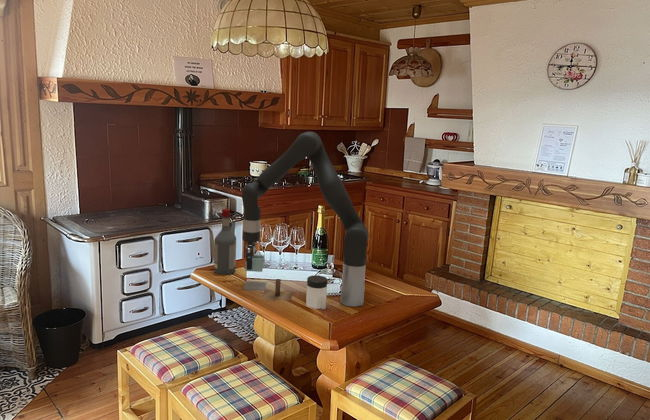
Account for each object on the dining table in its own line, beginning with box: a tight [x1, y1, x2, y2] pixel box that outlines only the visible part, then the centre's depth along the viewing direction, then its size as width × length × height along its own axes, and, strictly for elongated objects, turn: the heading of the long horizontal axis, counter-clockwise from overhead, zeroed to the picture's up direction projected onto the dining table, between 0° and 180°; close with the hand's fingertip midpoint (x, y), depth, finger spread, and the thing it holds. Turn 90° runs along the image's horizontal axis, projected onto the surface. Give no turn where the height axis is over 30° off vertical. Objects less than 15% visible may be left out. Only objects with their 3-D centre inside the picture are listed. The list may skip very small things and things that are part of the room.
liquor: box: [213, 208, 237, 276], centre depth 228 cm, size 9×9×30 cm
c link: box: [244, 254, 265, 273], centre depth 212 cm, size 7×6×6 cm
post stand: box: [261, 278, 293, 302], centre depth 204 cm, size 12×9×8 cm
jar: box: [305, 274, 328, 310], centre depth 197 cm, size 9×8×12 cm
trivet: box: [243, 280, 267, 291], centre depth 214 cm, size 9×9×1 cm
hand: (250, 266), depth 212 cm, fingers closed on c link, 6 cm apart
